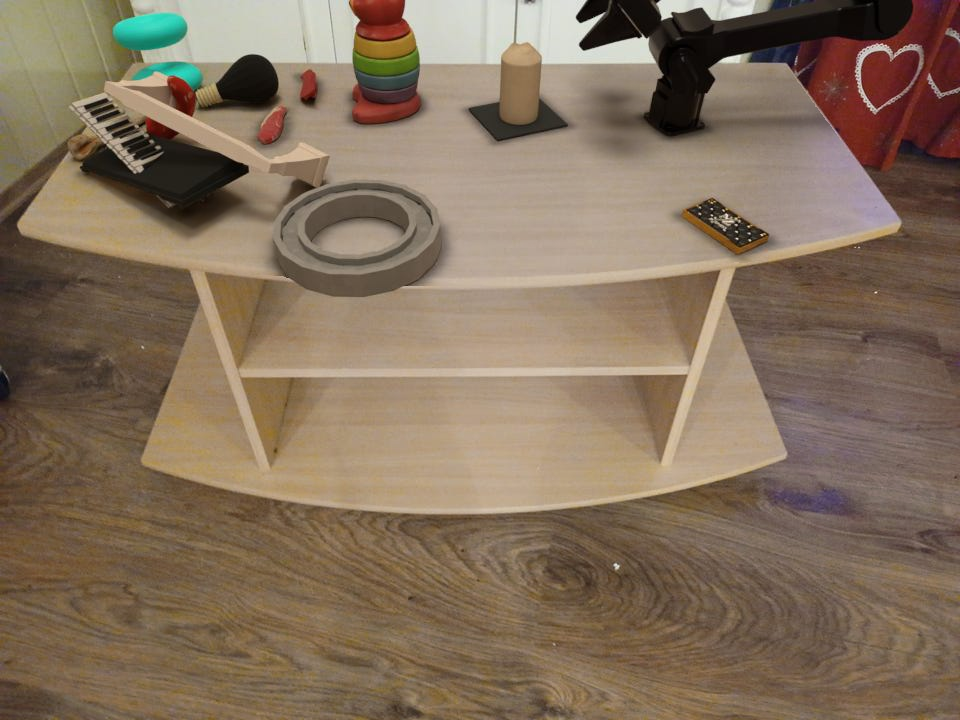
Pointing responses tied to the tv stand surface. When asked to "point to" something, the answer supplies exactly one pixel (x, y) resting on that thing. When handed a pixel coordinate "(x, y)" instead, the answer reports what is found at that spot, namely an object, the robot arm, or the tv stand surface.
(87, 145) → the brown bone
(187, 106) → the vegetable
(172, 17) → the donuts
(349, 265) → the mechanical component
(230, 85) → the light bulb
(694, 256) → the tv stand surface
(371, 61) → the stacking bear
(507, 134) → the mat
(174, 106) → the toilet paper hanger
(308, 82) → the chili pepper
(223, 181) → the synthesizer keyboard
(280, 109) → the steak
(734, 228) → the black flat block
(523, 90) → the candle
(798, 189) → the tv stand surface
